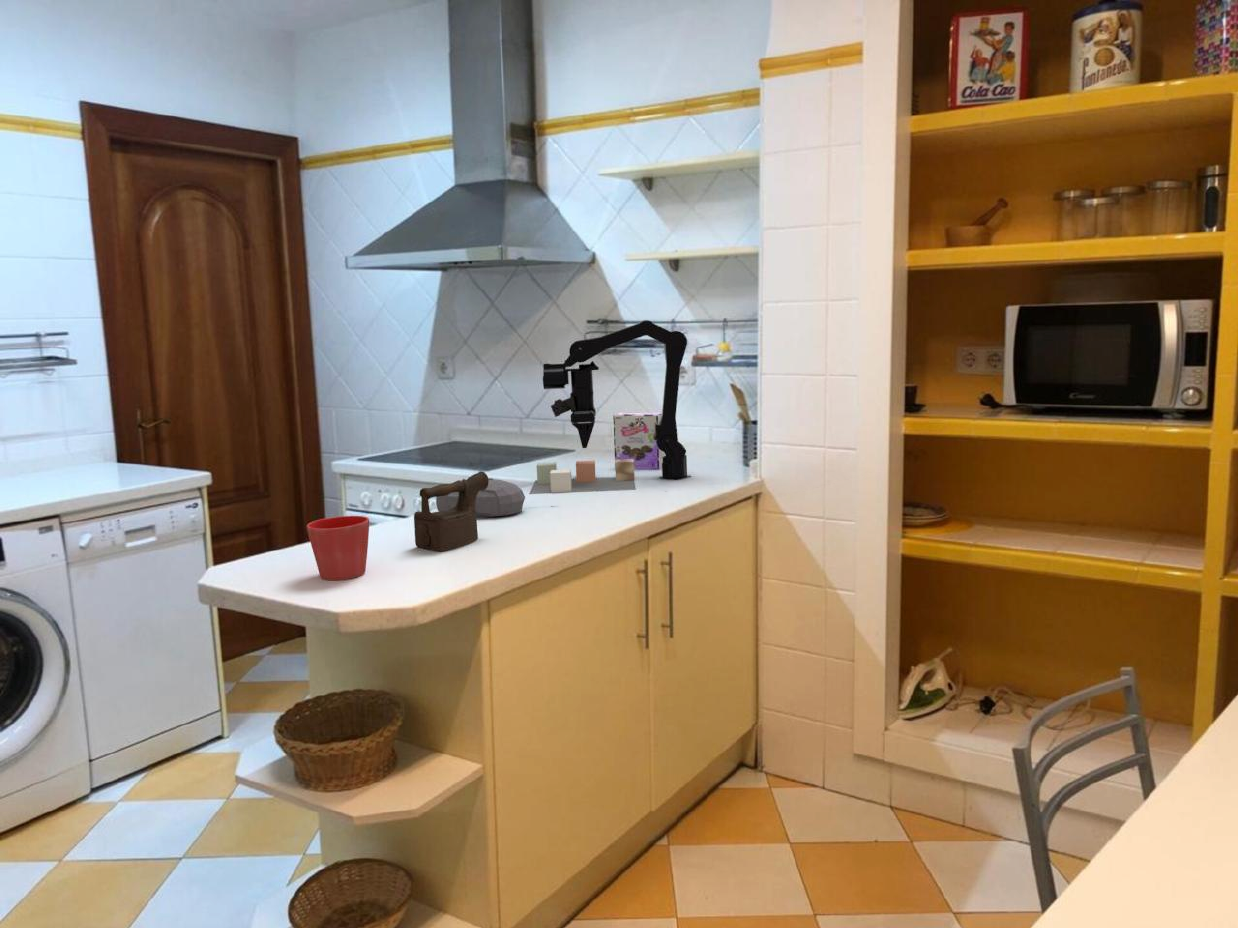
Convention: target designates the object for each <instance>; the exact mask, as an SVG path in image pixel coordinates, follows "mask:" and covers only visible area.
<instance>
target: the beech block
mask: <svg viewBox="0 0 1238 928" xmlns="http://www.w3.org/2000/svg"><path fill="white" fill-rule="evenodd" d="M614 467H615V477H616V481H628V480H634V481H635V477H636V476H635V469H634V459H624V460H615V459H614Z"/></svg>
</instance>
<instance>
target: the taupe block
mask: <svg viewBox="0 0 1238 928" xmlns="http://www.w3.org/2000/svg"><path fill="white" fill-rule="evenodd" d="M571 479H572V469H571V468H569V469H557V470H551V472H550V480H551V493H550V494H556V493H555V492H569V493H572V492H571V489H572V485H571Z"/></svg>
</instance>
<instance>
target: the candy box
mask: <svg viewBox="0 0 1238 928" xmlns="http://www.w3.org/2000/svg"><path fill="white" fill-rule="evenodd" d="M661 417H662V412H618V413H614V414H613V441H614V443H613V444H614V448H613V449H614V461H615V460H624V459H634V470H643V471H644V470H649V471H652V470H653V471H660V470H662V463H663V458H662V457H664V456H666V455H665V453H664V452H663V451H661V450H660V449H659V448H658V446H657V444H656V440H654V438H653V435H654V433H655V424H654V423H660V420H661Z"/></svg>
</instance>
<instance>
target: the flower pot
mask: <svg viewBox="0 0 1238 928" xmlns="http://www.w3.org/2000/svg"><path fill="white" fill-rule="evenodd" d="M306 530H307V534H308V539H309V542H310V544H311V549H312V551H313V555H314V559H315V560H314V561H315V563H316V567H317V570H318V572H319V577H320V578H321V579H322V580H326V581H342V580H349V579H354V578H355V577H360V576H362V575H364V574H365V573H366V569H367V568H366V567H367V560H368V559H367V558H368V548H369V533H370V518H369V517H367V516H364V515H363V516H362V515H345V516H334V517H327V518H321V519H320V518H319V519H317V520H313V521H312V522H309V523H308V524H306Z"/></svg>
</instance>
